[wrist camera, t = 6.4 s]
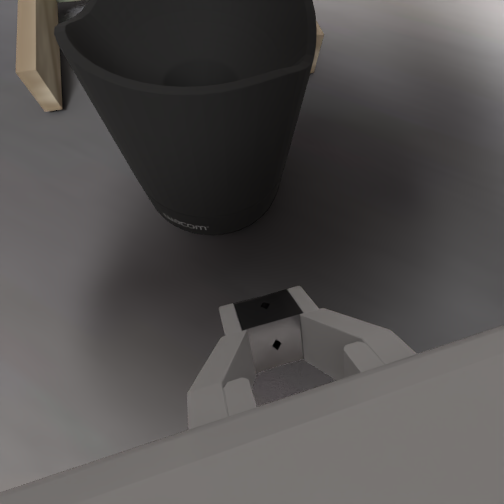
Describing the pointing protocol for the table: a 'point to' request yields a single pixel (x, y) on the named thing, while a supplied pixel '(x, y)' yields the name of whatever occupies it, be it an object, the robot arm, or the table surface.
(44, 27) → the corral
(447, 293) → the table surface
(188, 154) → the pen holder
